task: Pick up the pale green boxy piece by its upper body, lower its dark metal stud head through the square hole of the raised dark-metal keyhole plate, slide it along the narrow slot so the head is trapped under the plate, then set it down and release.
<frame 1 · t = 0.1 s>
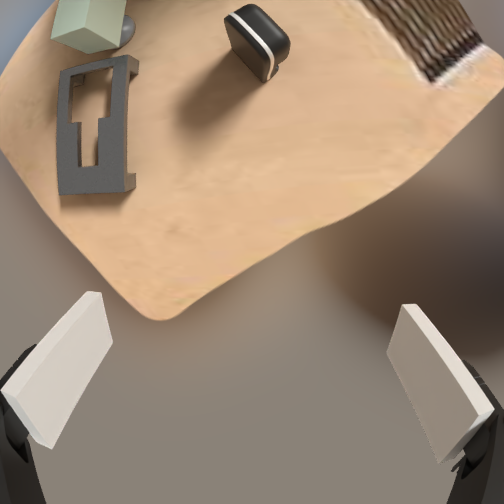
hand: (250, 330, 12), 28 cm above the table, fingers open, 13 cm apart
pale green boxy piece: (117, 32, 29), on the table
keyhole plate: (101, 126, 34), on the table
battery charger: (258, 58, 31), on the table
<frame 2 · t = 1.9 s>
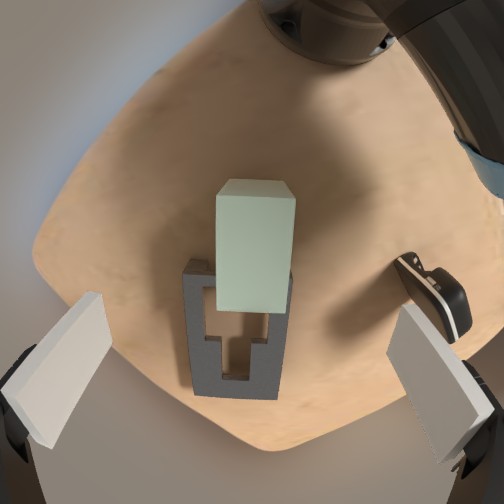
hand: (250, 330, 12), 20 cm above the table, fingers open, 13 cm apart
pale green boxy piece: (255, 213, 31), on the table
keyhole plate: (237, 329, 36), on the table
battery charger: (412, 271, 33), on the table
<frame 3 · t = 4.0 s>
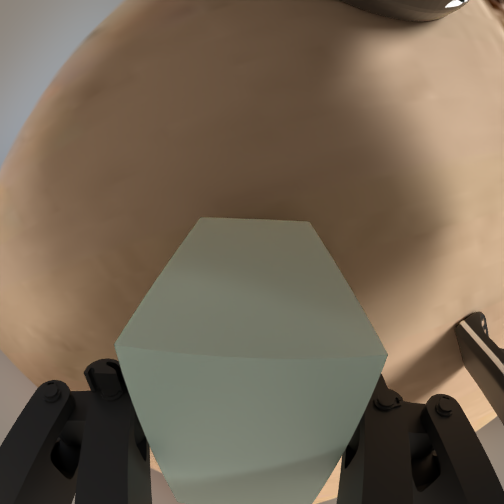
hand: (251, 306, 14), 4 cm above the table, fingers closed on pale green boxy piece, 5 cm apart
pale green boxy piece: (252, 269, 18), on the table, touching gripper
battery charger: (472, 333, 20), on the table
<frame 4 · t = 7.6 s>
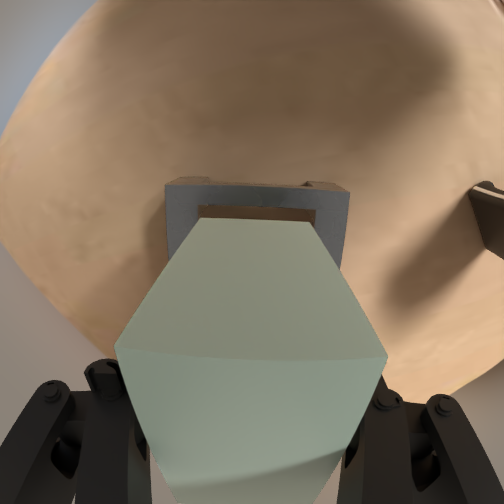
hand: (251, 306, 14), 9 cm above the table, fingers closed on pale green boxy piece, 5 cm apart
pale green boxy piece: (252, 269, 18), point 5 cm above the table, touching gripper
keyhole plate: (253, 293, 23), on the table
battery charger: (486, 210, 21), on the table
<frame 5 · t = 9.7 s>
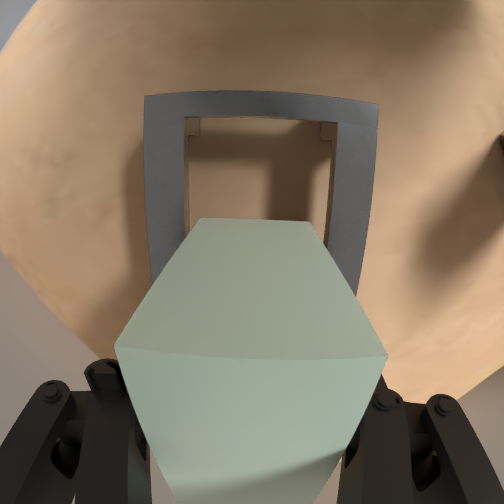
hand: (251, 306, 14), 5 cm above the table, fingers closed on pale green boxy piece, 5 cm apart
pale green boxy piece: (252, 269, 18), point 1 cm above the table, touching gripper
keyhole plate: (256, 250, 18), on the table
when the fingers open (5 cm above the table, at t = 11.4 s): pale green boxy piece stays where it is, resting on keyhole plate.
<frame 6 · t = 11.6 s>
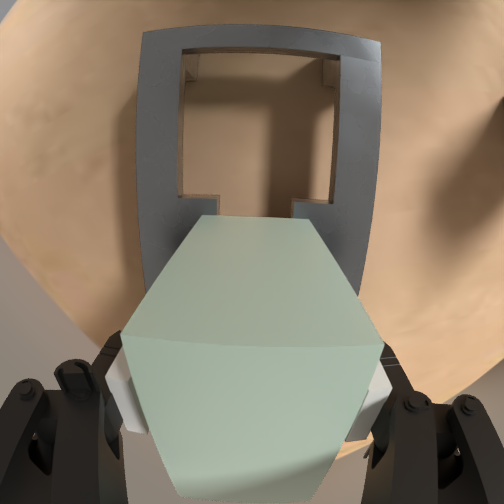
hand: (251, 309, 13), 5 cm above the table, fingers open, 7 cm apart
pale green boxy piece: (253, 266, 18), resting on keyhole plate
keyhole plate: (255, 201, 17), on the table
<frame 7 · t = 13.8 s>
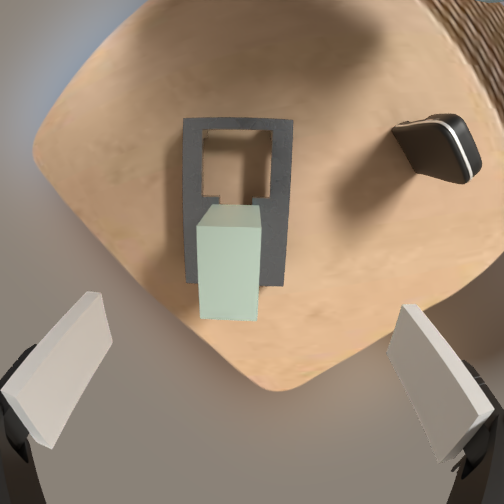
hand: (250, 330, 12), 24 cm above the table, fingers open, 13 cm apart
pale green boxy piece: (236, 232, 35), resting on keyhole plate
keyhole plate: (237, 199, 34), on the table
battery charger: (412, 144, 31), on the table
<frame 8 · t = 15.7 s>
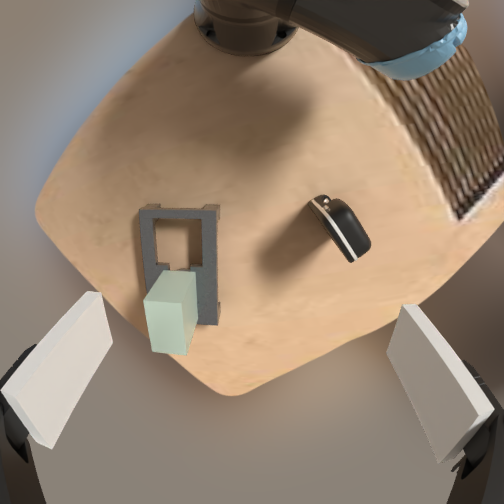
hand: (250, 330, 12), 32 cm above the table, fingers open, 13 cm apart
pale green boxy piece: (186, 284, 46), resting on keyhole plate
keyhole plate: (184, 261, 45), on the table
battery charger: (329, 212, 42), on the table
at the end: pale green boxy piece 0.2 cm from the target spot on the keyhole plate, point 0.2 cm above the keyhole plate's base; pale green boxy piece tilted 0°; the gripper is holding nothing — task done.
